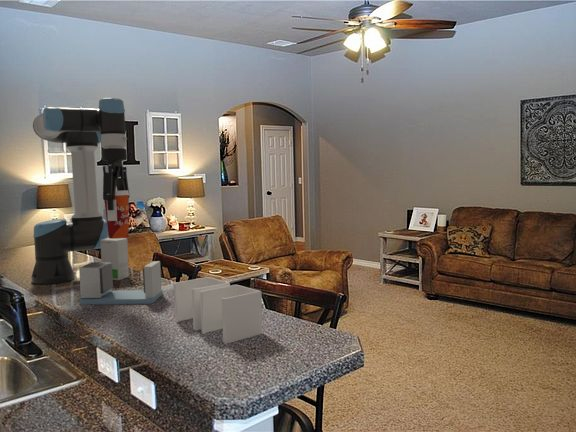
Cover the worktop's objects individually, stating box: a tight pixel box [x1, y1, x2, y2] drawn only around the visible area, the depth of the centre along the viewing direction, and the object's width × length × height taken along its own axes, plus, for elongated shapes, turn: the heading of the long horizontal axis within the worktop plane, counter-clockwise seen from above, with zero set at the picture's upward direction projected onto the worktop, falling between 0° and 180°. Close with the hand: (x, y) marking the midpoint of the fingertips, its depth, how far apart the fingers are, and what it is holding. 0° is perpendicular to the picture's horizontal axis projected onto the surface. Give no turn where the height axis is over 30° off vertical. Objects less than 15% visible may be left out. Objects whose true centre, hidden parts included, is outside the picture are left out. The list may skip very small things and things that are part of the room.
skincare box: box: [100, 237, 130, 281], centre depth 202 cm, size 8×7×16 cm
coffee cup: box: [103, 190, 131, 239], centre depth 166 cm, size 8×8×15 cm
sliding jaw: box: [78, 261, 114, 299], centre depth 168 cm, size 10×7×10 cm
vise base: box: [79, 260, 164, 306], centre depth 168 cm, size 12×23×12 cm, turn 88°
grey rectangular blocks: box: [172, 276, 263, 345], centre depth 136 cm, size 25×11×11 cm, turn 40°
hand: (118, 219), depth 166 cm, fingers closed on coffee cup, 8 cm apart
